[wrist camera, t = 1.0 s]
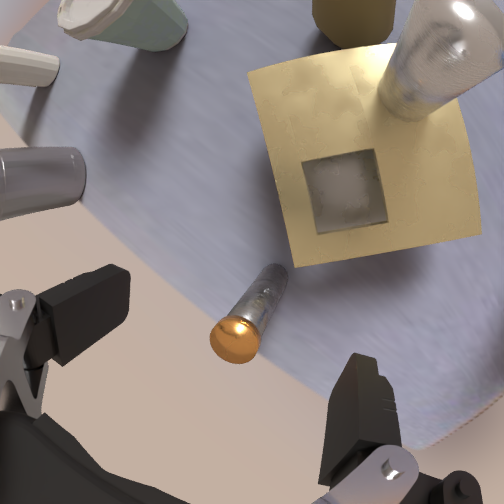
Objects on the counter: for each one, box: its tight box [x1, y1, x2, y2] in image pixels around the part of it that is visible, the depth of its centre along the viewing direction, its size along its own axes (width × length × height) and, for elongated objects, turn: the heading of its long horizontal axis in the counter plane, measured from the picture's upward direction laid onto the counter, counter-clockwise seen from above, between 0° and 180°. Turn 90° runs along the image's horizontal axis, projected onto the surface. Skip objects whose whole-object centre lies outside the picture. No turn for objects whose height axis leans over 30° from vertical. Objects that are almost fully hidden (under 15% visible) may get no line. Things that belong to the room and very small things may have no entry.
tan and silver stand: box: [247, 0, 504, 268], centre depth 17 cm, size 16×16×21 cm
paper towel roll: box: [0, 46, 60, 87], centre depth 24 cm, size 7×6×21 cm
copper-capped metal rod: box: [210, 264, 288, 364], centre depth 26 cm, size 3×3×14 cm
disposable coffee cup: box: [57, 0, 188, 52], centre depth 21 cm, size 11×11×15 cm
